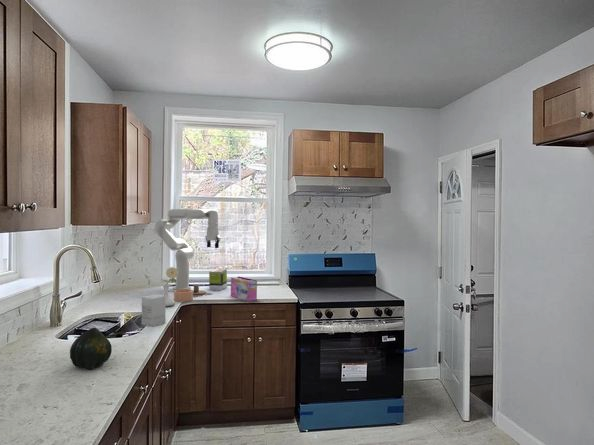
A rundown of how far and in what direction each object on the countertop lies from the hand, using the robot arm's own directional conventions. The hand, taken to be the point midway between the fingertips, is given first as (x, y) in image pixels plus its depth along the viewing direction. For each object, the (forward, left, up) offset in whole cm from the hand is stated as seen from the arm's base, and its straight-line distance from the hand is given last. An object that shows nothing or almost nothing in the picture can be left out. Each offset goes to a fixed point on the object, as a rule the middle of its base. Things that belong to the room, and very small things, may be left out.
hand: (212, 247), depth 316 cm
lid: (+3, -17, -33) cm, 37 cm away
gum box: (+37, -1, -34) cm, 50 cm away
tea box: (-4, +9, -34) cm, 35 cm away
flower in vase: (+21, -52, -34) cm, 65 cm away
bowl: (+12, -34, -33) cm, 49 cm away
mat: (+3, -17, -33) cm, 38 cm away
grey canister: (+53, -81, -34) cm, 102 cm away
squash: (+90, -129, -34) cm, 161 cm away
